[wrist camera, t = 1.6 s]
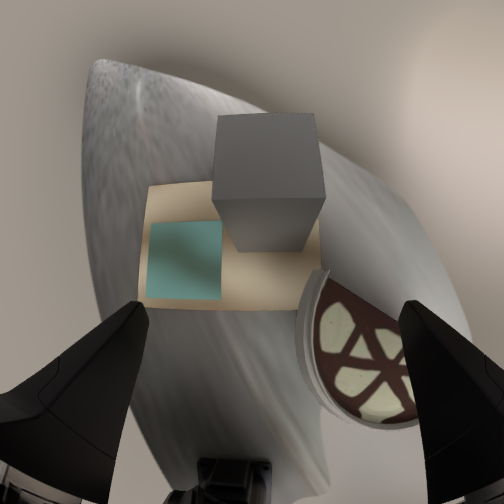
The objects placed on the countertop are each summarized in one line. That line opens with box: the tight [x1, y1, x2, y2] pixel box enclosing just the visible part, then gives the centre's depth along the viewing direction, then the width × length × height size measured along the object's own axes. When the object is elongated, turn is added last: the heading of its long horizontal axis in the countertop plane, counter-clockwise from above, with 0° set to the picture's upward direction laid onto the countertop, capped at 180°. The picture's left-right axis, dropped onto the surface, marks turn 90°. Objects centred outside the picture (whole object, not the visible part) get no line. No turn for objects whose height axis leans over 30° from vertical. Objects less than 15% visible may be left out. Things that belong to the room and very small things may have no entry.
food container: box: [295, 269, 419, 432], centre depth 15 cm, size 12×6×10 cm, turn 56°
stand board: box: [138, 181, 321, 311], centre depth 20 cm, size 11×15×5 cm
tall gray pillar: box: [211, 113, 326, 253], centre depth 17 cm, size 5×5×10 cm
